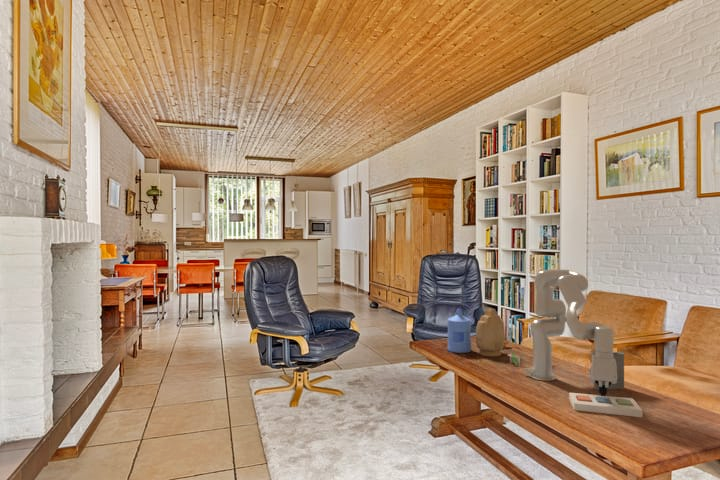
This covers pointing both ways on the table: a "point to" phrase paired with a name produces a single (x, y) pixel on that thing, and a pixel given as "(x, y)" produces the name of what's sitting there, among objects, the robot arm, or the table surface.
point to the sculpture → (490, 333)
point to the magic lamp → (506, 341)
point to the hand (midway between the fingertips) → (602, 395)
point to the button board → (605, 405)
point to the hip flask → (620, 373)
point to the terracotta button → (583, 398)
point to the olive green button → (624, 402)
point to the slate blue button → (603, 400)
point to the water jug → (459, 333)
